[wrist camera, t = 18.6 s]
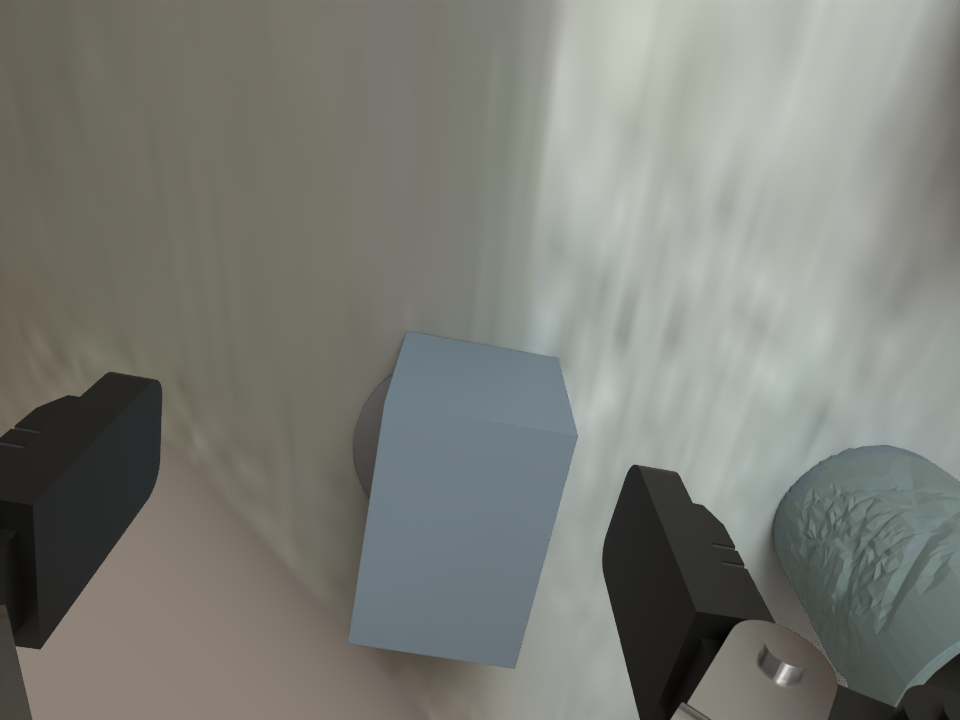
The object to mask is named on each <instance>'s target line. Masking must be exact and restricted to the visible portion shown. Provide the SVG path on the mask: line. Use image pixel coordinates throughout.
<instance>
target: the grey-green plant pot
mask: <svg viewBox="0 0 960 720" xmlns="http://www.w3.org/2000/svg"><path fill="white" fill-rule="evenodd" d="M774 543H775V549H776V553H777V555H778V558H779V560H780V563H781V565H782V567H783V569H784V571H785V573H786V575H787V577H788V579H789V581H790V582H791V584H792V586H793V588H794V590H795V592H796V594H797V595H798V597H799V599H800V601H801V603H802V605H803V607H804V608H805V610H806V612H807V613H808V615H809V617H810V620H811V624H812V626H813V628H814V630H815V632H816V633H817V635H818V636H819V638H820V640H821V642H822V644H823V647H824V649H825V651H826V653H827V655H828V657H829V658H830V660H831V662H832V664H833V665H834V667H835V668H836V670H837V671H838V672H839V673H840V674H841V675H842V676H843V677H844V678H845V679H846V680H847V683H848V689H851V690H853V691H856V692H858V693H861V694H863V695H866V696H868V697H871V698H873V699H876V700H878V701H881V702H883V703H886V704H888V705H891V706H893V707H897V705H898V703H899V702H900V700H901V698H902V697H903V695H904V693H905V692H906V691H907V689H909V688H910V687H912V686H916V685H932V686H937V687H940V688H944V689H946V690H949V691H952V692H954V693H956V694H958V695H960V481H958V480H957V479H955V478H954V477H952V476H951V475H950V474H948V473H947V472H945V471H944V470H942V469H941V468H940V467H938V466H937V465H935V464H934V463H932V462H931V461H929V460H927V459H926V458H924V457H922V456H920V455H918V454H915V453H913V452H910V451H907V450H905V449H901V448H897V447H892V446H888V445H880V446H865V447H859V448H856V449H852V448H849V449H847V450H844V451H842V452H841V453H840V454H838V455H831V456H830V457H829V458H828V459H826V460H823V461H821V462H819V463H818V464H817V465H816V466H814V467H813V468H811V469H810V470H809V471H808V472H806V473H805V474H804V475H803V476H802V477H800V478H799V480H798V481H797V482H796V483H795V484H794V485H793V486H791V488H790V491H789V492H787V493H786V494H785V496H784V498H783V499H782V501H781V503H780V505H779V507H778V510H777V513H776V517H775V521H774Z"/></svg>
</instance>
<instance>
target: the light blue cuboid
mask: <svg viewBox="0 0 960 720" xmlns="http://www.w3.org/2000/svg"><path fill="white" fill-rule="evenodd" d="M577 437H578V434H577V431H576V427H575V423H574V419H573V415H572V411H571V407H570V403H569V399H568V395H567V391H566V387H565V383H564V379H563V375H562V371H561V367H560V363H559V359H558V358H554V357H549V356H543V355H537V354H532V353H526V352H521V351H515V350H510V349H504V348H498V347H493V346H487V345H482V344H476V343H470V342H465V341H459V340H454V339H448V338H442V337H437V336H431V335H426V334H420V333H415V332H409V331H406V335H405V338H404V341H403V344H402V348H401V351H400V354H399V357H398V361H397V364H396V367H395V370H394V374H393V377H392V380H391V383H390V387H389V390H388V393H387V396H386V400H385V403H384V410H383V416H382V423H381V429H380V436H379V443H378V449H377V456H376V462H375V469H374V475H373V482H372V488H371V495H370V502H369V508H368V515H367V521H366V528H365V534H364V541H363V547H362V554H361V560H360V567H359V574H358V580H357V587H356V593H355V600H354V606H353V613H352V619H351V626H350V633H349V639H348V643H349V644H354V645H361V646H368V647H374V648H381V649H388V650H394V651H401V652H407V653H414V654H421V655H427V656H434V657H441V658H447V659H454V660H460V661H467V662H474V663H480V664H487V665H494V666H500V667H507V668H513V669H515V667H516V663H517V659H518V656H519V652H520V648H521V645H522V641H523V637H524V633H525V630H526V626H527V622H528V619H529V615H530V611H531V608H532V604H533V600H534V596H535V593H536V589H537V585H538V582H539V578H540V574H541V570H542V567H543V563H544V559H545V556H546V552H547V548H548V545H549V541H550V537H551V533H552V530H553V526H554V522H555V519H556V515H557V511H558V507H559V504H560V500H561V496H562V493H563V489H564V485H565V482H566V478H567V474H568V470H569V467H570V463H571V459H572V456H573V452H574V448H575V445H576V441H577Z"/></svg>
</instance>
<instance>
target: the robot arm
mask: <svg viewBox="0 0 960 720" xmlns="http://www.w3.org/2000/svg"><path fill="white" fill-rule="evenodd" d="M161 415H162V388H161V384H160V382H159V381H158V380H155V379H149V378H143V377H138V376H132V375H126V374H120V373H115V372H109V373H107V374H105V375H104V376H103V377H102V378H101V379H100V380H98V381H97V382H96V383H95V384H94V385H93V386H92V387H91V388H89V389H88V390H87V391H86V392H85V393H84V394H83V395H82V396H81V397H76V396H70V395H67V396H65V397H62V398H60V399H57V400H55V401H52V402H50V403H47V404H45V405H42V406H40V407H37V408H36V409H34V410H33V411H32V412H31V413H30V414H28V415H27V416H26V417H25V418H24V419H22V420H21V421H20V422H19V423H18V424H16V425H15V428H14V429H10V430H9V431H8V432H7V433H5V434H4V435H3V436H2V437H1V438H0V720H32V716H31V712H30V707H29V703H28V698H27V694H26V690H25V686H24V681H23V677H22V673H21V668H20V664H19V660H18V655H17V651H16V647H15V646H19V647H26V648H33V649H41V648H42V646H43V645H44V643H45V642H46V641H47V639H48V638H49V637H50V635H51V634H52V632H53V631H54V630H55V628H56V627H57V626H58V624H59V623H60V621H61V620H62V618H63V617H64V616H65V614H66V613H67V612H68V610H69V609H70V607H71V606H72V605H73V603H74V602H75V600H76V599H77V598H78V596H79V595H80V593H81V592H82V591H83V589H84V588H85V586H86V585H87V584H88V582H89V581H90V579H91V578H92V577H93V575H94V574H95V573H96V571H97V569H98V568H99V567H100V565H101V564H102V563H103V561H104V560H105V559H106V557H107V556H108V554H109V553H110V552H111V550H112V549H113V547H114V546H115V545H116V543H117V542H118V540H119V539H120V538H121V536H122V535H123V533H124V532H125V531H126V529H127V528H128V526H129V525H130V524H131V522H132V521H133V519H134V518H135V517H136V515H137V514H138V512H139V511H140V510H141V508H142V507H143V505H144V504H145V503H146V501H147V500H148V498H149V497H150V495H151V493H152V491H153V488H154V486H155V483H156V480H157V475H158V471H159V465H160V445H161ZM602 566H603V574H604V578H605V582H606V586H607V590H608V594H609V598H610V602H611V606H612V610H613V614H614V618H615V622H616V626H617V630H618V634H619V638H620V642H621V646H622V650H623V654H624V658H625V662H626V666H627V670H628V674H629V678H630V682H631V686H632V690H633V694H634V698H635V702H636V706H637V710H638V714H639V718H640V720H960V695H958V694H956V693H954V692H952V691H949V690H946V689H944V688H940V687H937V686H932V685H916V686H912V687H910V688H909V689H907V691H906V692H905V693H904V695H903V697H902V698H901V700H900V702H899V703H898V705H897V707H893V706H891V705H888V704H886V703H883V702H881V701H878V700H876V699H873V698H871V697H868V696H866V695H863V694H861V693H858V692H856V691H853V690H851V689H848V688H846V687H843V686H841V685H839V684H837V678H836V675H835V672H834V670H833V668H832V666H831V665H830V663H829V662H828V661H827V659H826V658H825V657H824V656H823V654H822V653H821V652H820V651H819V650H818V649H817V648H816V647H814V646H813V645H812V644H811V643H810V642H808V641H807V640H806V639H804V638H803V637H801V636H800V635H798V634H797V633H795V632H793V631H791V630H789V629H787V628H785V627H783V626H780V625H778V624H776V623H775V621H774V619H773V617H772V616H771V614H770V612H769V610H768V608H767V606H766V604H765V602H764V600H763V599H762V597H761V595H760V593H759V591H758V589H757V587H756V585H755V583H754V581H753V580H752V578H751V576H750V574H749V572H748V570H747V569H744V563H743V561H742V559H741V557H740V555H739V553H738V551H735V545H734V544H733V542H732V540H731V538H730V536H729V534H728V532H727V530H726V528H725V527H724V525H723V524H722V523H721V522H720V521H719V520H718V519H717V518H716V517H715V516H714V515H713V514H712V513H711V512H709V511H708V510H707V509H706V508H705V507H704V506H703V505H700V504H694V503H692V501H691V498H690V496H689V494H688V492H687V490H686V488H685V486H684V484H683V482H682V480H681V478H680V476H679V474H678V473H677V472H674V471H668V470H663V469H657V468H651V467H646V466H640V465H633V466H632V467H631V468H630V469H629V471H628V473H627V475H626V478H625V481H624V484H623V487H622V490H621V493H620V496H619V499H618V501H617V504H616V507H615V510H614V513H613V516H612V519H611V522H610V525H609V528H608V531H607V534H606V537H605V541H604V547H603V556H602Z"/></svg>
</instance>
